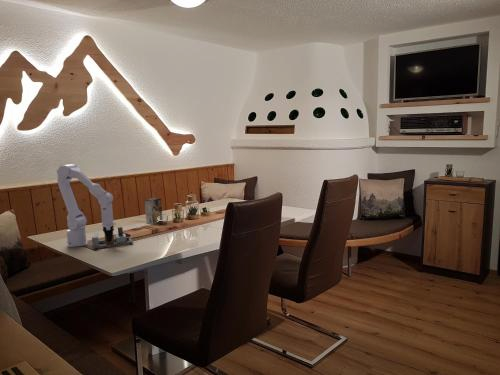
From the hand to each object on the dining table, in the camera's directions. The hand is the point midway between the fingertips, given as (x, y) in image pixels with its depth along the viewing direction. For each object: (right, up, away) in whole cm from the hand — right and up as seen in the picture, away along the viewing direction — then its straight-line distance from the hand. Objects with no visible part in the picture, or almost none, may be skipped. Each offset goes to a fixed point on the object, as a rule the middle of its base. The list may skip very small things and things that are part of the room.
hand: (109, 240), depth 210 cm
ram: (+6, -2, +2) cm, 6 cm away
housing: (0, -1, 0) cm, 1 cm away
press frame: (+1, -2, +1) cm, 3 cm away
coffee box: (+12, +5, +51) cm, 52 cm away
